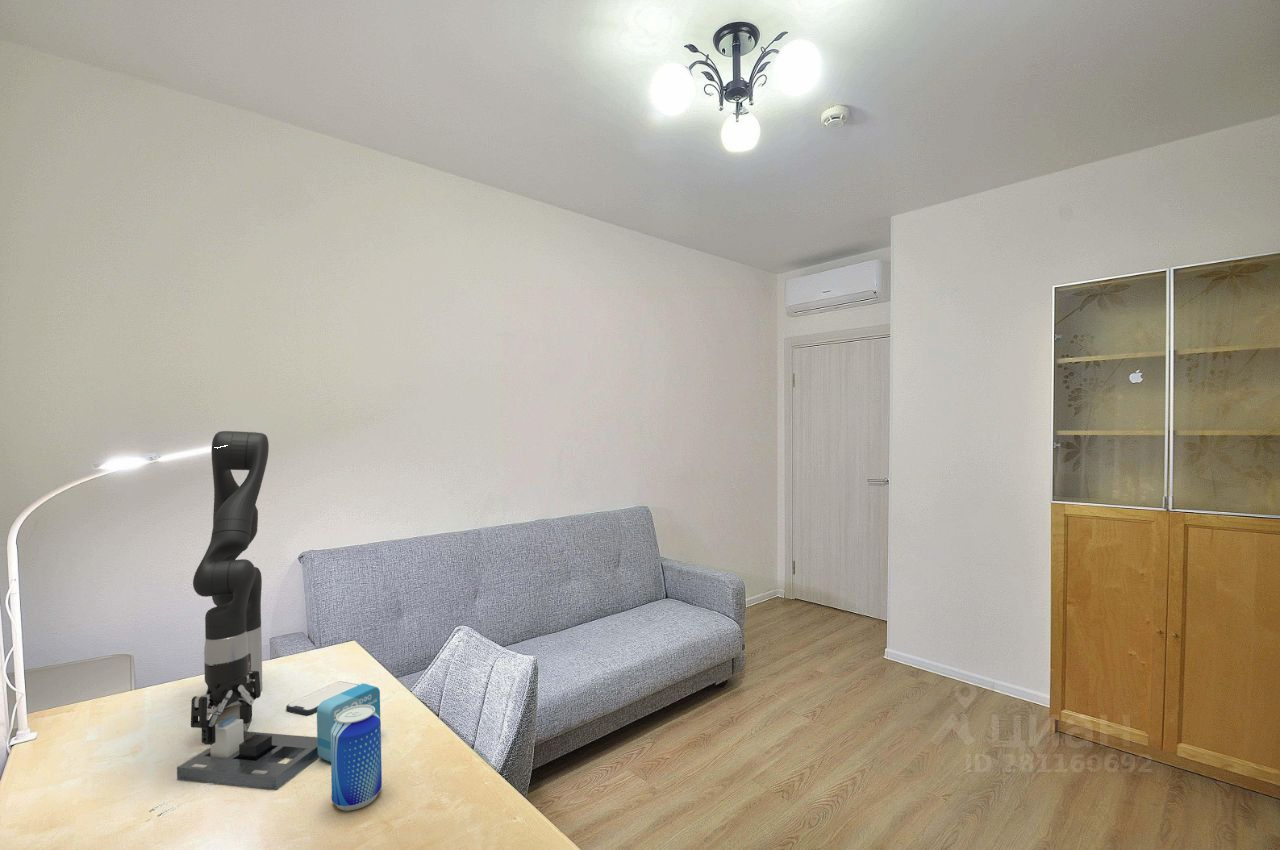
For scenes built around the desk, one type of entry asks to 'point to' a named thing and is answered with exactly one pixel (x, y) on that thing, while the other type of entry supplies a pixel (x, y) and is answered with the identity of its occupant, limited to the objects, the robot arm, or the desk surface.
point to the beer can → (356, 757)
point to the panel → (254, 762)
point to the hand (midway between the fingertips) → (228, 733)
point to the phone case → (317, 698)
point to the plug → (227, 737)
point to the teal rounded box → (335, 705)
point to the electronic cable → (173, 806)
